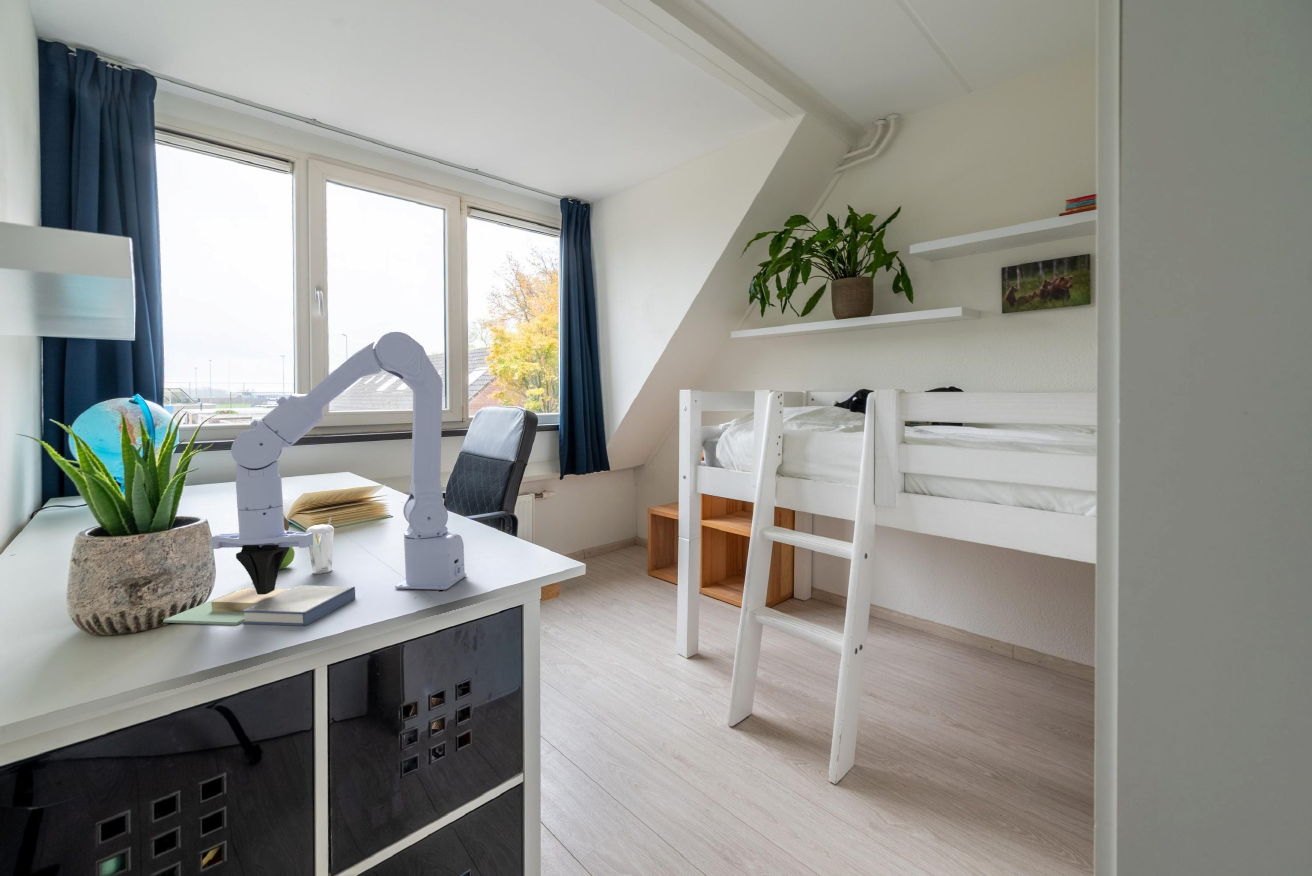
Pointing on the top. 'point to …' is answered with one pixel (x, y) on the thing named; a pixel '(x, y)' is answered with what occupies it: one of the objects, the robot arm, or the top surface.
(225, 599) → the tile
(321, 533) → the milkshake
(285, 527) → the snail figurine
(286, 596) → the notebook
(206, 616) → the mat
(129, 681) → the top surface
